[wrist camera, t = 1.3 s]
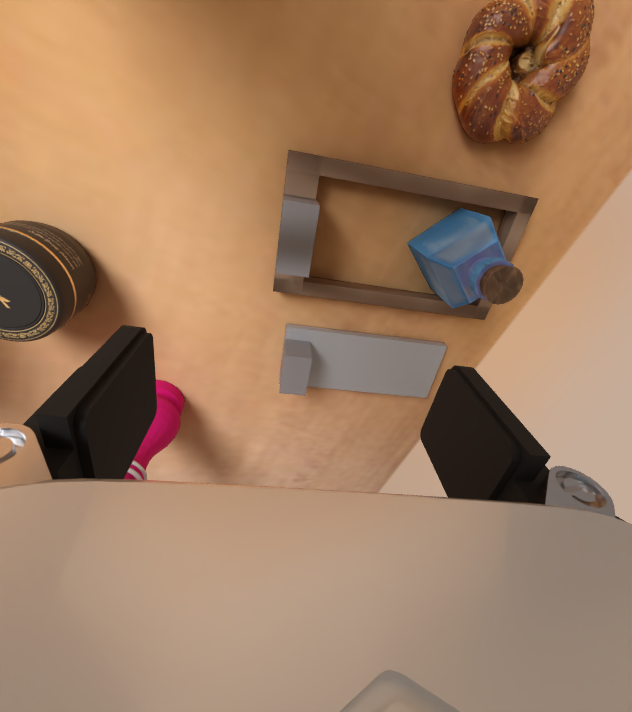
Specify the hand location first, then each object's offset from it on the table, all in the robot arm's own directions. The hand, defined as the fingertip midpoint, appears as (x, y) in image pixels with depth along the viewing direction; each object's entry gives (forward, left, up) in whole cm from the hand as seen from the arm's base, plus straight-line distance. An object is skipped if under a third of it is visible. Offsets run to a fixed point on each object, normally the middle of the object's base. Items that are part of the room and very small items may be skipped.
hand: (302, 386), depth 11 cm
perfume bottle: (0, +17, -29) cm, 33 cm away
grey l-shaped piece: (+15, +11, -28) cm, 34 cm away
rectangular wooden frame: (0, +11, -28) cm, 30 cm away
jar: (+8, -24, -29) cm, 38 cm away
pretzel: (-16, +17, -29) cm, 37 cm away
